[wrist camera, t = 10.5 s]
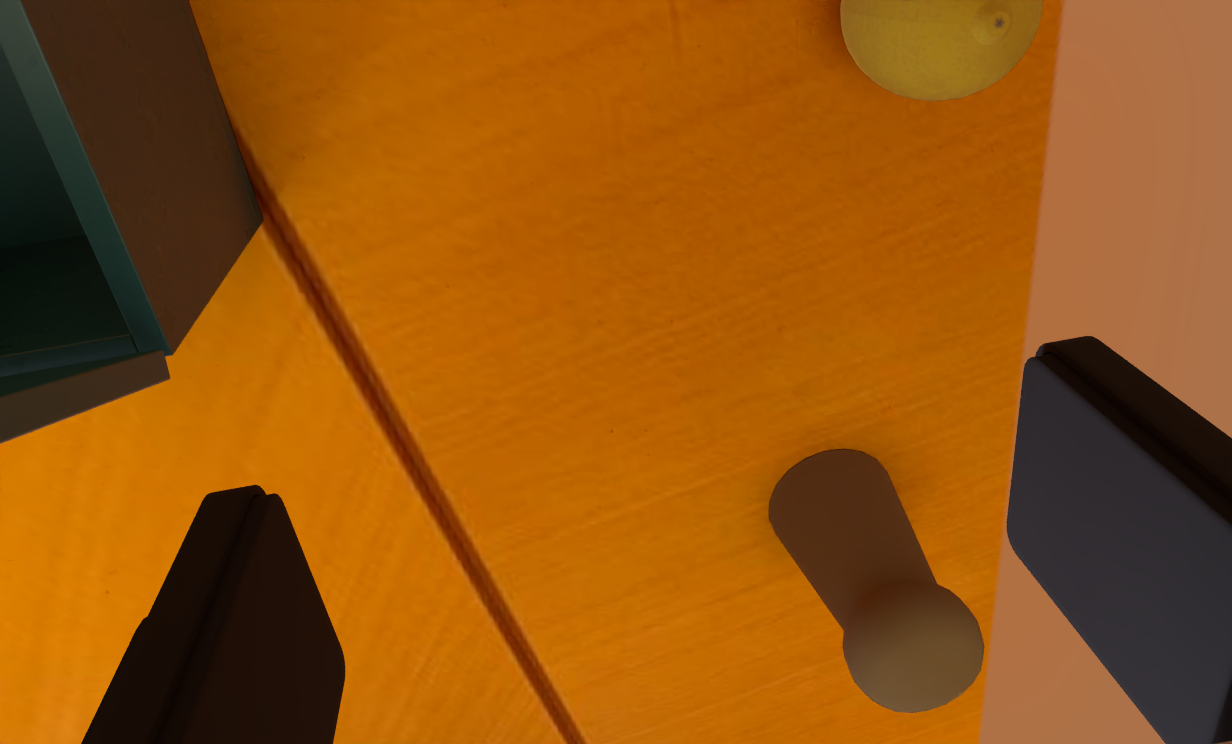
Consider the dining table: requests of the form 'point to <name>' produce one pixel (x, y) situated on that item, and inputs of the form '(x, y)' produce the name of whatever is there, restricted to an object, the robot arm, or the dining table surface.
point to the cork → (876, 582)
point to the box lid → (73, 390)
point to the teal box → (111, 181)
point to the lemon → (938, 43)
